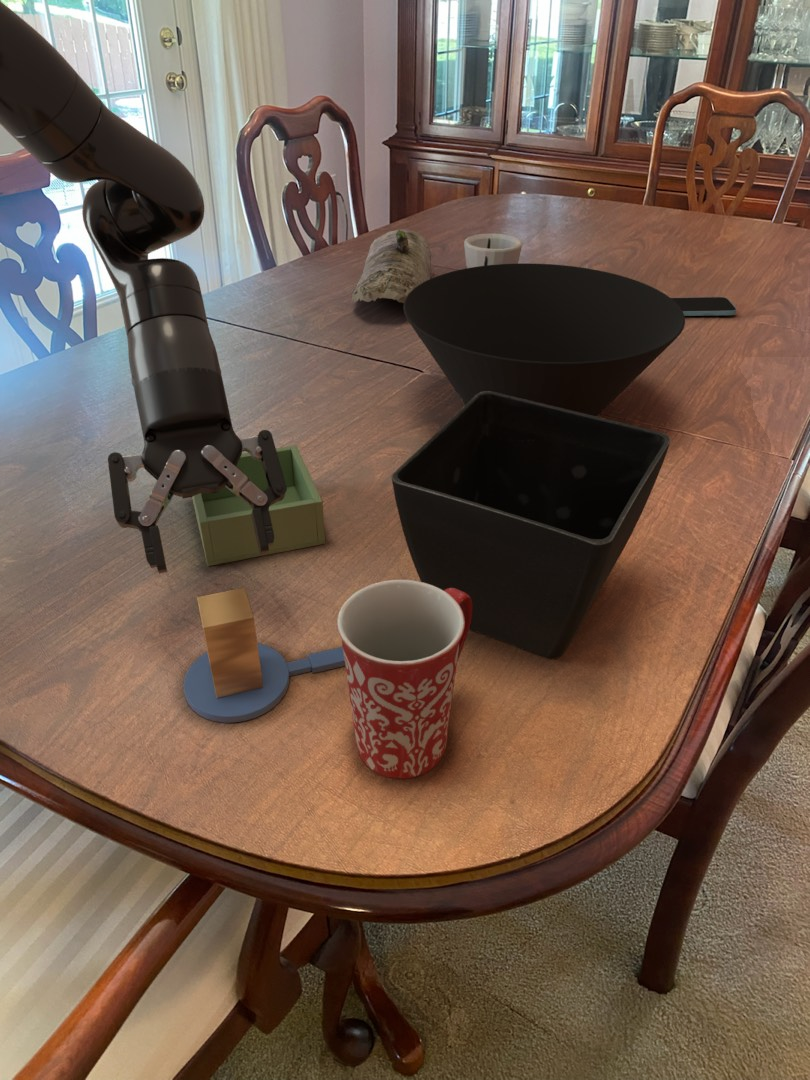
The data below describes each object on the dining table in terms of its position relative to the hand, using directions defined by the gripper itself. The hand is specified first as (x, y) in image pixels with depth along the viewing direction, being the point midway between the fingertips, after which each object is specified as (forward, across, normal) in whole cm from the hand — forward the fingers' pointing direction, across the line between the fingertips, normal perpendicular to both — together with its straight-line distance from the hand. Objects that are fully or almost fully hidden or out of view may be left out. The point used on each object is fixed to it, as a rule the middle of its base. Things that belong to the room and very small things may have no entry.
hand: (214, 562), depth 69 cm
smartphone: (-36, +91, +50) cm, 110 cm away
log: (-52, +43, +67) cm, 95 cm away
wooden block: (+10, 0, +3) cm, 10 cm away
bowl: (-17, +47, +32) cm, 59 cm away
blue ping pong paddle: (+10, +5, +4) cm, 12 cm away
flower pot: (+9, +28, +5) cm, 30 cm away
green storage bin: (-7, +6, +21) cm, 23 cm away
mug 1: (+18, +13, -3) cm, 22 cm away
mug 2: (-50, +61, +65) cm, 102 cm away
